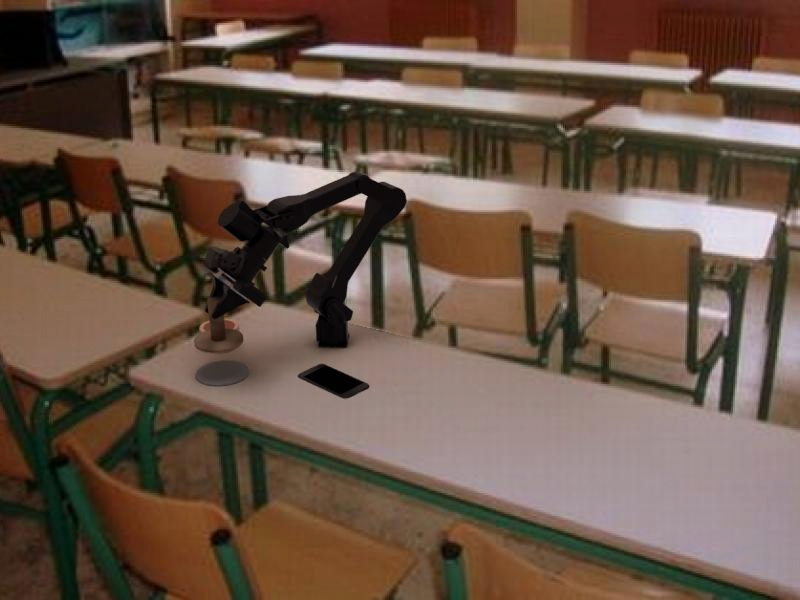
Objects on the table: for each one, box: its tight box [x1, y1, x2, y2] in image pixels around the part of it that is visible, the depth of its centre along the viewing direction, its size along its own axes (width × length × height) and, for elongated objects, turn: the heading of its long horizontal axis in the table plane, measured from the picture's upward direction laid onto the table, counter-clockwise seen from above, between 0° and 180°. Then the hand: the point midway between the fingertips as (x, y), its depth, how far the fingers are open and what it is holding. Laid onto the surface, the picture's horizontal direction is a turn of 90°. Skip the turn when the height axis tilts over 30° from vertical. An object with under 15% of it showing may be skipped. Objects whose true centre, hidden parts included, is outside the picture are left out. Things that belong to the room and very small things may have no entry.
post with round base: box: [193, 297, 244, 354], centre depth 196 cm, size 10×10×10 cm
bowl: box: [198, 318, 241, 354], centre depth 212 cm, size 8×8×4 cm
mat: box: [195, 359, 250, 387], centre depth 200 cm, size 11×11×1 cm
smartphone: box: [297, 363, 370, 400], centre depth 196 cm, size 7×15×1 cm, turn 46°
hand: (209, 315), depth 194 cm, fingers closed on post with round base, 3 cm apart
